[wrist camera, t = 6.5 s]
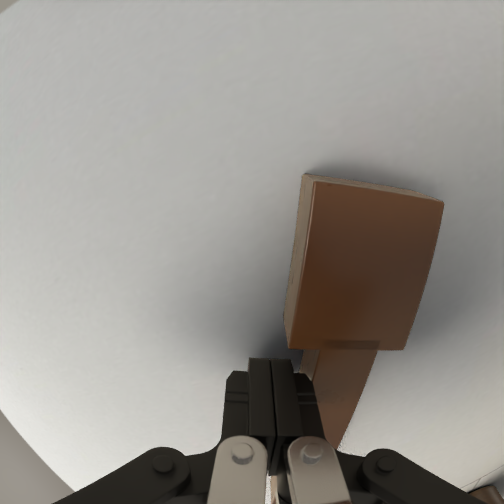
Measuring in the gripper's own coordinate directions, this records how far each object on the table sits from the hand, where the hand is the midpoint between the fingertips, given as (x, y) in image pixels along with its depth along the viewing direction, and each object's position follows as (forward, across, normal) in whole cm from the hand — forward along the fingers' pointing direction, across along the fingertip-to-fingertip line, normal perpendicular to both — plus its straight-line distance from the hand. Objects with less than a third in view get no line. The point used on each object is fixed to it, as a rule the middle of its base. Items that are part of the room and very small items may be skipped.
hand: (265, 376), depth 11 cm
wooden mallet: (+1, -2, +1) cm, 3 cm away
